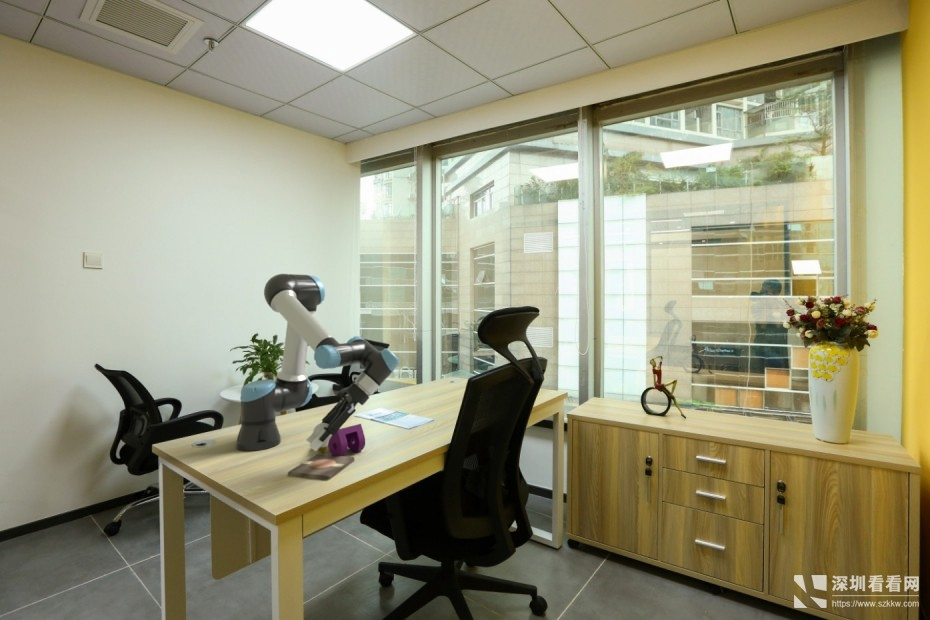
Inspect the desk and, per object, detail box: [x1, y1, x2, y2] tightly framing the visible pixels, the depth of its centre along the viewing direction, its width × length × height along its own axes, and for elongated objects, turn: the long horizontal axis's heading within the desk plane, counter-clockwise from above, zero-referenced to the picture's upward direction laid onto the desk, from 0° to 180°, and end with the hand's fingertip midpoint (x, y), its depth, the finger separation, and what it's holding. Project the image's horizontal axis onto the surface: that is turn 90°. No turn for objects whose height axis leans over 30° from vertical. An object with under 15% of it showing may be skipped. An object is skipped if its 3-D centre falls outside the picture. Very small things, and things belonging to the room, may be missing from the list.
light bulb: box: [312, 422, 332, 455], centre depth 141 cm, size 6×6×10 cm
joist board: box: [287, 453, 355, 481], centre depth 141 cm, size 14×16×1 cm
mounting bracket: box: [327, 423, 366, 457], centre depth 158 cm, size 10×9×19 cm
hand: (311, 445), depth 139 cm, fingers closed on light bulb, 6 cm apart
